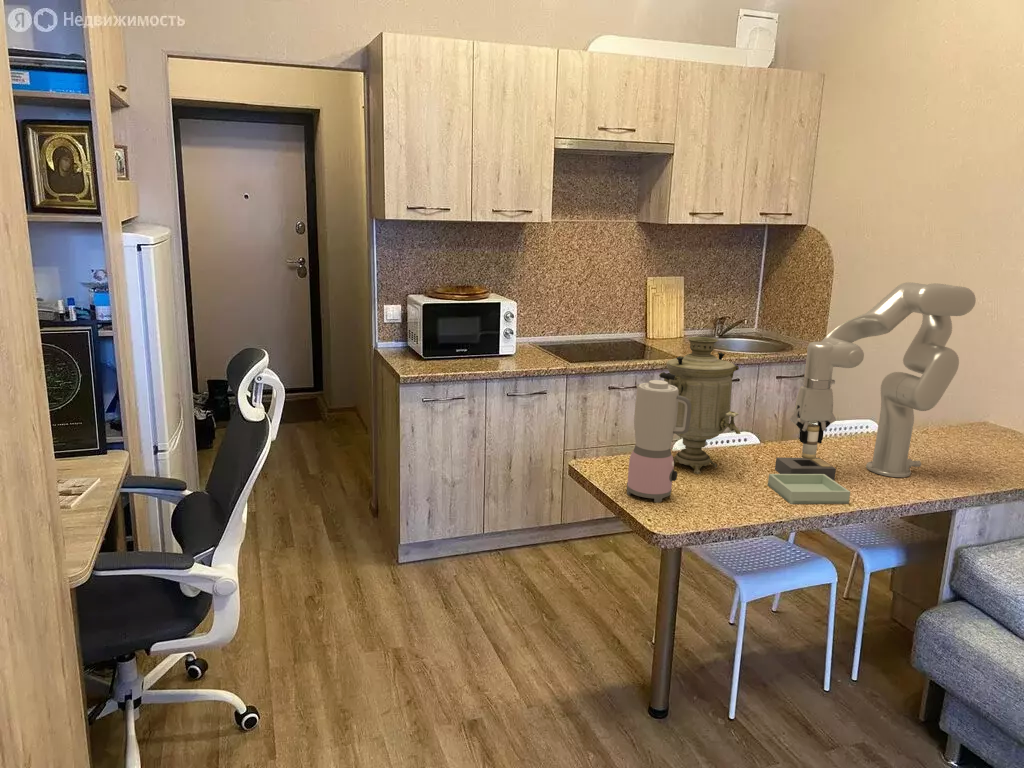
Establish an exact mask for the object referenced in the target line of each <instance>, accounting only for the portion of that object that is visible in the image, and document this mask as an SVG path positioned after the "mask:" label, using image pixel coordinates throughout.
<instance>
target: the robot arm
mask: <svg viewBox="0 0 1024 768" xmlns="http://www.w3.org/2000/svg"><path fill="white" fill-rule="evenodd" d="M976 299H977V298H976V295H975V293H974V292H973V291H972V290H971V289H970V288H968V287H966V286H959V285H952V284H945V283H928V284H927V283H926V284H925V283H920V282H919V283H918V282H917V283H916V282H909V281H907V282H903V283H900V284H899V285H897V286H896V287H894V288H893V289H892V290H891V291H890V292H889V293H887V294H886V296H885V297H883V298H882V299H881V300H880V301H879V302H877V304H875V305H874V306H873V307H872V308H870V310H869V311H866V312H865V313H862V314H860V315H858V316H856V317H853V318H851V319H849V320H847V321H845V322H843V323H841V324H839V325H837V326H836V327H835V328H834V329H832V331H830V332H828V334H826V335H825V336H824V337H823V339H822V340H821V341H813V342H812V341H811V342H809V344H808V345H807V347H806V348H807V349H806V350H807V351H806V359H805V368H804V378H803V386H802V385H801V386H800V387H799V389H798V393H797V395H796V400H795V406H794V410H793V411H794V412H793V414H792V416H790V418H789V421H791V423H793V424H795V426H797V428H798V429H799V432H798V433H799V434H798V439H799V442H801V443H802V445H803V444H806V443H807V436H808V431H806V429H807V426H808V424H810V423H809V422H816V425H819V426H820V427H819V435H818V444H822V443H823V439H824V432H825V431H826V430H827V428H828V427H829V426H830V425H831V424H833V423H835V421H837V418H836V416H835V415H834V413H833V412H834V411H833V410H834V392H833V389H832V388H831V387H832V385H835V384H836V381H835V380H836V379H833V369H834V368H843V369H853V368H856V367H858V366H860V365H861V364H862V362H863V361H864V358H865V353H864V350H863V349H862V347H861V346H860V345H858V344H856V343H854V342H856V341H859V340H861V339H865V338H871V337H879V336H883V335H886V334H890V332H892V331H893V330H894V329H895V328H896V327H897V326H898V325H899V324H901V323H902V322H903V321H904V320H905V319H906V318H908V317H909V316H911V314H914V313H917V314H921V315H922V321H921V325H920V327H919V329H918V331H917V333H916V334H915V335H914V338H913V340H911V342H910V343H909V346H908V347H907V349H906V351H905V353H904V354H903V355H904V356H903V358H902V363H903V365H904V367H905V368H906V369H908V370H909V371H912V372H914V373H916V374H917V373H918V374H921V377H920V376H917V375H914V374H910V373H907V372H903V371H894V372H890V373H888V374H887V375H885V377H884V378H883V379H882V381H881V384H880V413H879V419H878V425H877V431H876V437H875V444H874V449H873V456H872V460H871V461H868V462H867V463H866V466H865V468H866V469H867V470H869V472H870V471H871V473H874V474H877V475H881V476H885V477H891V478H906V477H907V478H908V477H910V476H911V474H912V471H911V469H910V468H912V467H913V468H914V467H916V468H921V466H922V462H921V461H920V460H912V459H911V458H908V457H909V451H910V446H911V441H912V440H911V439H912V436H913V435H912V433H913V427H914V424H915V423H914V422H915V413H914V410H916V411H919V412H926V411H930V410H932V409H933V408H935V407H936V405H937V404H939V402H940V400H941V399H942V397H943V396H944V394H945V392H946V391H947V389H948V388H949V386H950V384H951V382H952V381H953V379H954V378H955V376H956V374H957V372H958V369H959V364H960V359H959V358H960V357H959V355H958V353H957V352H956V351H955V350H954V349H952V348H950V347H948V346H946V345H947V343H948V341H949V339H950V338H951V335H952V332H953V323H952V318H951V317H962V316H965V315H967V314H969V313H970V312H971V311H972V310H973V309H974V307H975V305H976ZM798 419H799V420H798Z"/></svg>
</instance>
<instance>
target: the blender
mask: <svg viewBox="0 0 1024 768" xmlns="http://www.w3.org/2000/svg"><path fill="white" fill-rule="evenodd" d="M635 387H636V397H635V403H634V415H633V416H634V418H633V423H634V438H635V445H634V448H633V450H632V451H631V454H630V456H629V459H628V460H629V461H628V473H627V482H626V495H628V496H631V495H635V496H637V497H642V498H647V499H653V502H654V503H661V502H663V499H664V498H667V497H669V496H671V495H672V489H673V487H672V486H673V482H675V481H677V478H678V471H677V470H675V469H674V467H675V463H674V460H673V459H674V457H673V454H672V450H671V446H672V442H673V438H674V435H676V434H684V433H687V432H688V430H689V426H690V418H691V402H690V400H689V399H687V398H686V397H683V396H679V395H678V392H679V391H678V388H677V387H675V386H673V385H669V384H668V382H666V381H664V380H660V379H652V380H649V381H648V382H643V383H636V384H635ZM678 402H681V403H683V404H684V405H685V412H684V421H683V427H681V428H680V427H676V421H677V411H678Z"/></svg>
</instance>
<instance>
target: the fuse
mask: <svg viewBox="0 0 1024 768" xmlns="http://www.w3.org/2000/svg"><path fill="white" fill-rule="evenodd" d="M819 427H820V426H819V425H817V423H816V424H815V423H808V426H807V429H806V431H808V436H807V443H806V444H803V443H802V450H801V458H806V459H816V458H817V450H818V444H819V443H818V435H819Z"/></svg>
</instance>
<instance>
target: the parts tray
mask: <svg viewBox="0 0 1024 768" xmlns="http://www.w3.org/2000/svg"><path fill="white" fill-rule="evenodd" d="M767 486H768V487H769V488H771V490H773V491H774V492H775V493H776V494H777V495H779V496H780V497H781V498H782V499H784V500H785V501H786V502H787V503H789V504H790V505H804V504H805V505H812V504H813V505H817V504H818V505H825V504H826V505H829V504H831V505H833V504H835V505H838V504H839V505H840V504H841V505H843V504H844V505H847V504H849V503H850V497H851V491H850V490H848V489H847V488H846V487H844V486H842V485H841V484H839V483H838V482H837V481H836V480H832V479H831V478H829V477H828V476H826V475H825V474H780V473H768V479H767Z"/></svg>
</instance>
